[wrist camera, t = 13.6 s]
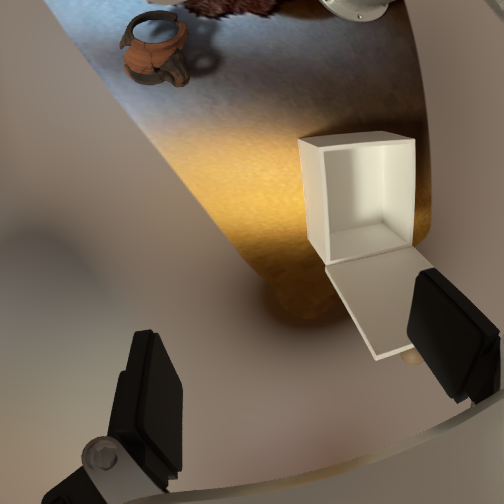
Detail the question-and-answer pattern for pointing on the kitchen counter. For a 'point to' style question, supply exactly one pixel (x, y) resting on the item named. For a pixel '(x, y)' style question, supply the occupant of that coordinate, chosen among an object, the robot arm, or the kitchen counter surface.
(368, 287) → the carton lid
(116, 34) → the kitchen counter surface
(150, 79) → the broken clay pot
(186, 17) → the kitchen counter surface
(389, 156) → the carton
